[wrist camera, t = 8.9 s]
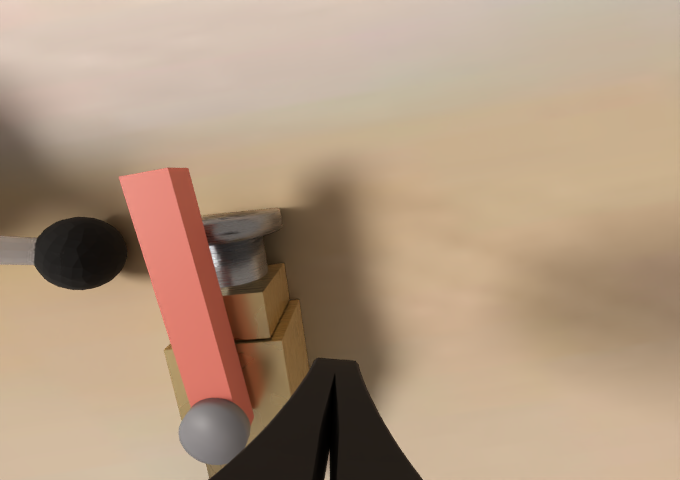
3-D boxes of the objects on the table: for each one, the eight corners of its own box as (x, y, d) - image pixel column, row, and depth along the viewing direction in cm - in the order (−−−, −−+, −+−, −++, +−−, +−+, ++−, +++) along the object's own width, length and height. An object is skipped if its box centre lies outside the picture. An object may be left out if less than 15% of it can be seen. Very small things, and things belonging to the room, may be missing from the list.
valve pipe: (323, 439, 24) (312, 531, 18) (246, 444, 24) (211, 535, 18) (289, 204, 20) (261, 219, 14) (199, 214, 20) (133, 232, 14)
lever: (265, 423, 16) (253, 461, 14) (210, 430, 16) (189, 468, 14) (199, 165, 13) (170, 165, 11) (133, 177, 13) (93, 179, 11)
